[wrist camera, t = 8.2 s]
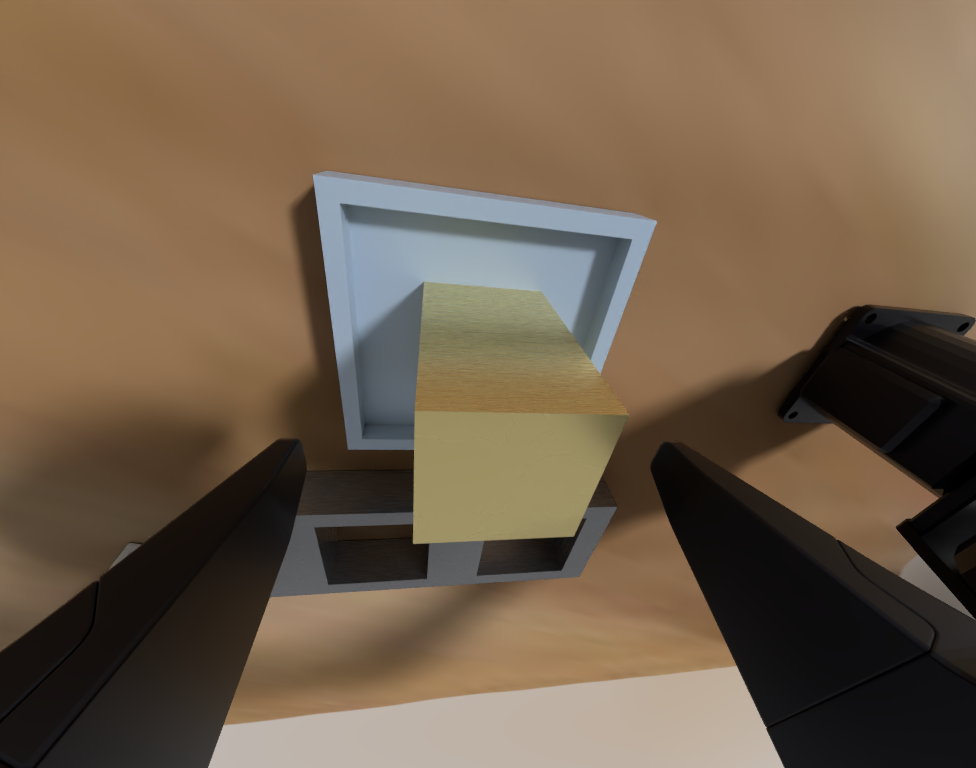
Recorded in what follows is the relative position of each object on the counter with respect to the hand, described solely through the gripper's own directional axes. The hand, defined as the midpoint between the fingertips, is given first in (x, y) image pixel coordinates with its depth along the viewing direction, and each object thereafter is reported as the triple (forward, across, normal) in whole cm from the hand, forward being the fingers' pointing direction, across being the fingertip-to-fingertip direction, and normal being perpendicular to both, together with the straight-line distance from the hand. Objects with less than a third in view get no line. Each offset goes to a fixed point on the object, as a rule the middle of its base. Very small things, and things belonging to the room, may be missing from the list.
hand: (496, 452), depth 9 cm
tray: (+6, 0, 0) cm, 7 cm away
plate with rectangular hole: (+6, +1, +12) cm, 13 cm away
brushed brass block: (+6, 0, 0) cm, 6 cm away
